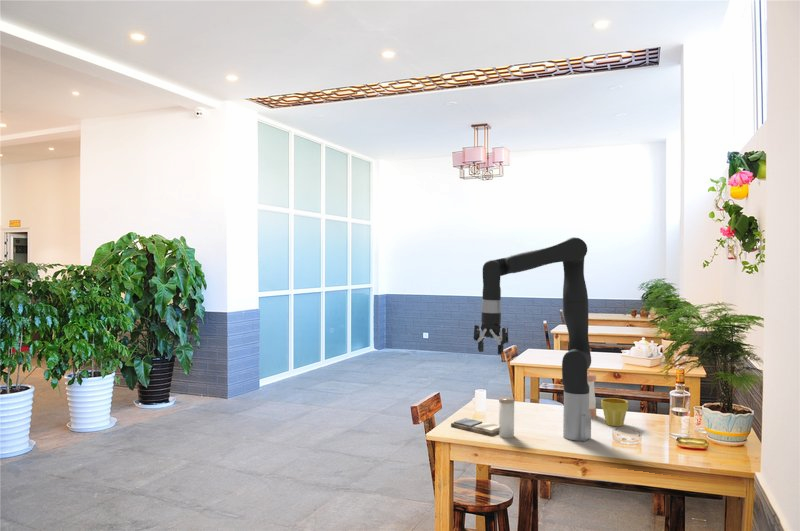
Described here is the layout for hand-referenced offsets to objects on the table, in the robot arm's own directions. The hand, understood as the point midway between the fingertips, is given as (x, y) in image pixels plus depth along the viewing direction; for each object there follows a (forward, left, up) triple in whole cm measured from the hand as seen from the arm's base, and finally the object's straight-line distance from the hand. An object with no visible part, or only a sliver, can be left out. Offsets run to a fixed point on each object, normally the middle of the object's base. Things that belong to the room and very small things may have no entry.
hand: (490, 352), depth 226 cm
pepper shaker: (-19, -49, -31) cm, 61 cm away
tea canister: (-8, +1, -31) cm, 32 cm away
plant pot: (-33, -43, -31) cm, 62 cm away
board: (+5, 0, -31) cm, 31 cm away
